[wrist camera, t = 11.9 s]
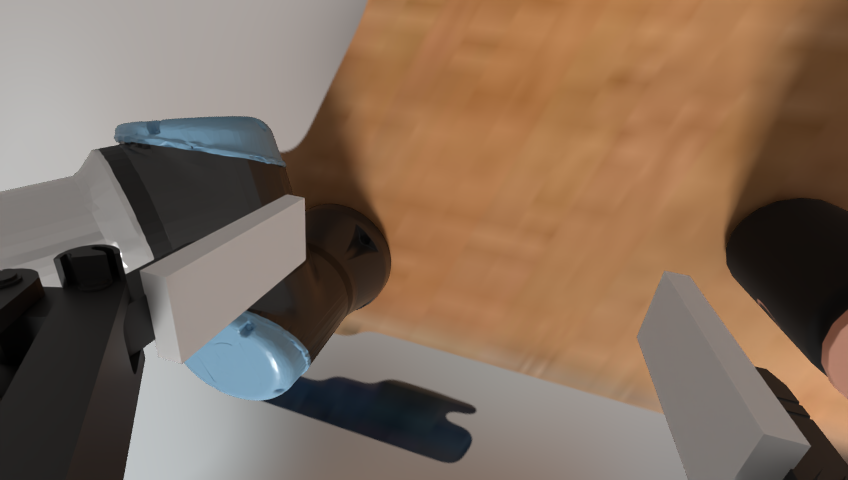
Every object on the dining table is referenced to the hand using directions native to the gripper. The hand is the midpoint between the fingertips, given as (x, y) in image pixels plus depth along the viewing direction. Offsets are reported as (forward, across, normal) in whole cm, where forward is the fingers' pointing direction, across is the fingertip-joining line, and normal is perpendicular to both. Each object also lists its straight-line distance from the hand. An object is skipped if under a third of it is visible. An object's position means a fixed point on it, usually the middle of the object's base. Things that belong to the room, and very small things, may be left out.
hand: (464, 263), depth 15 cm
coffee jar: (+33, +29, -7) cm, 44 cm away
